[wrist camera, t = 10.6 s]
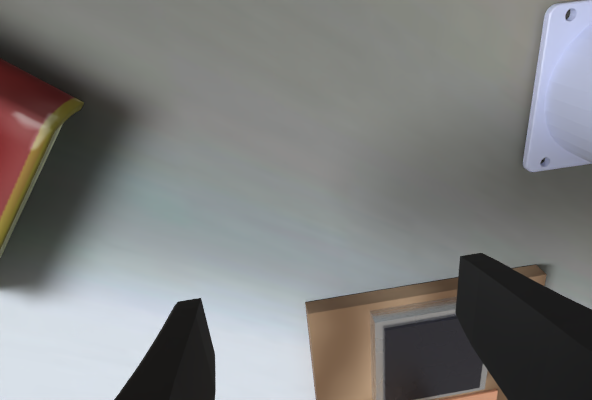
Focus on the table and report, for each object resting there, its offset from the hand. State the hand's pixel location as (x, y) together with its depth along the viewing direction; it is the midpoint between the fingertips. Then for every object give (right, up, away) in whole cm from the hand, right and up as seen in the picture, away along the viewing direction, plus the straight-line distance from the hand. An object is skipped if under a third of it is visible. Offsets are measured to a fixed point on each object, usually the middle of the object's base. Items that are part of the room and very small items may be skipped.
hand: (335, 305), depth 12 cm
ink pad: (+7, -6, +14) cm, 17 cm away
